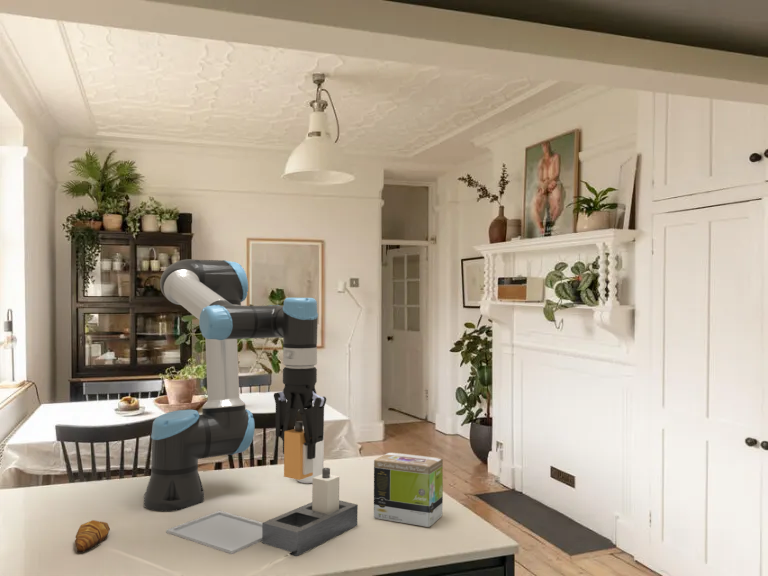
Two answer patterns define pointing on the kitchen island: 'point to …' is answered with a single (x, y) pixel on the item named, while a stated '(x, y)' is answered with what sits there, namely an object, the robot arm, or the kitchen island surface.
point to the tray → (221, 531)
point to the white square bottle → (325, 492)
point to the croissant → (90, 535)
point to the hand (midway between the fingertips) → (298, 471)
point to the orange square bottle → (294, 452)
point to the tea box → (408, 488)
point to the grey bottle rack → (308, 527)
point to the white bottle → (316, 463)
